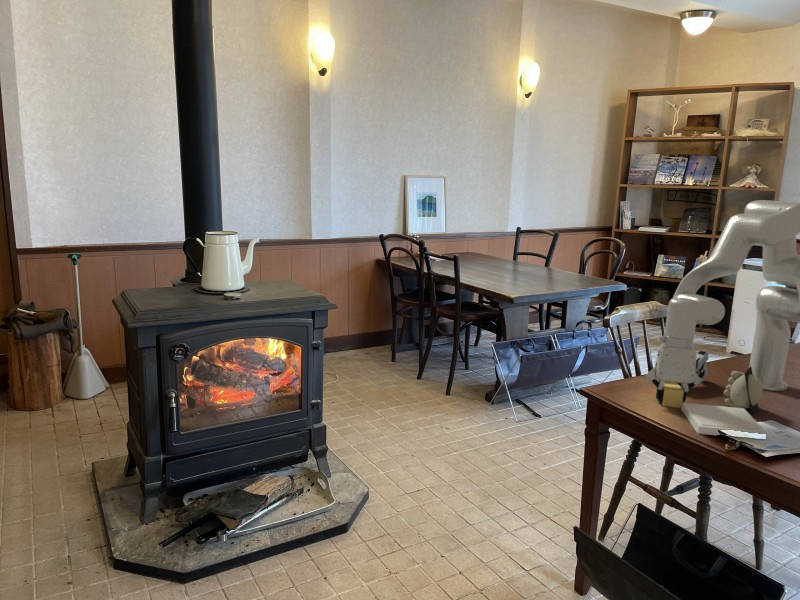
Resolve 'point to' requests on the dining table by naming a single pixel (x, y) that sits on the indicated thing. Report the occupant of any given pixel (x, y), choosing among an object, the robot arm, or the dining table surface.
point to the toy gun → (701, 365)
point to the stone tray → (720, 419)
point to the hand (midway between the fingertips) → (670, 401)
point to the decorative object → (743, 390)
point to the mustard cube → (672, 395)
